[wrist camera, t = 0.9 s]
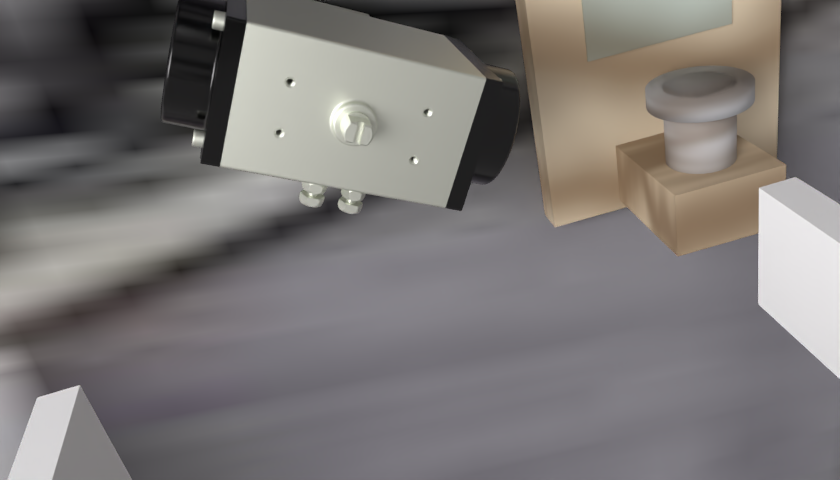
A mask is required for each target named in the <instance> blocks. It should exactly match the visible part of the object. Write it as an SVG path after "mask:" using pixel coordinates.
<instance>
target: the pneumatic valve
mask: <svg viewBox="0 0 840 480" xmlns="http://www.w3.org/2000/svg"><path fill="white" fill-rule="evenodd" d="M519 113H520V89H519V84H518V81H517V78H516V76H515V74H514V73H513V72H512V71H510V70H508V69H505V68H500V67H496V66H492V65H488V64H484V63H483V62H482V61H481V60H480V59H479V58H478V57H477V56H476V55H475V54H474V53H473V52H472V51H470V50H469V49H468V48H467V47H466V46H465V45H464V44H463V43H462V42H461V41H460V40H459V39H456V38H452V37H448V36H444V35H440V34H437V33H433V32H429V31H425V30H421V29H417V28H413V27H409V26H405V25H401V24H397V23H393V22H389V21H385V20H381V19H377V18H373V17H369V14H366V13H362V12H358V11H354V10H350V9H346V8H342V7H338V6H334V5H330V4H326V3H322V2H318V1H314V0H179V1H178V6H177V10H176V15H175V21H174V26H173V32H172V37H171V43H170V49H169V55H168V61H167V68H166V75H165V81H164V89H163V96H162V105H161V117H160V118H161V121H162V122H164V123H169V124H174V125H179V126H184V127H189V128H194V134H193V140H192V146H196V147H202V148H201V156H200V159H201V162H200V163H201V164H207V165H212V166H218V167H223V168H229V169H234V170H240V171H245V172H251V173H256V174H261V175H267V176H272V177H278V178H283V179H289V180H294V181H300V182H302V187H303V189H304V190H303V191H301V192H300V195H299V199H300V202H301V203H302V204H304V205H306V206H310V207H320V206H321V205H322V203H323V201H324V197H325V196H324V195H322V194H323V193H324V192H325V191H326V189H327V187H333V188H338V189H342V190H341V194H342V196H343V197H341V198H340V199H339V202H338V207H339V209H340V210H342V211H343V212H346V213H350V214H357V213H359V212H360V210H361V209H362V205H363V203H362V202H361V201H362V200H363V199H364V197H365V194H371V195H377V196H382V197H387V198H393V199H398V200H404V201H409V202H415V203H420V204H426V205H431V206H437V207H442V208H448V209H453V210H459V211H461V210H462V208H463V205H464V202H465V199H466V196H467V193H468V190H469V187H470V184H471V183H476V184H482V185H483V184H488V183H490V182H491V181H493V180H494V179H495V178H496V177H497V176H498V174H499V173H500V171H501V170H502V168H503V167H504V165H505V163H506V161H507V159H508V156H509V154H510V151H511V149H512V146H513V143H514V139H515V136H516V131H517V127H518V121H519Z"/></svg>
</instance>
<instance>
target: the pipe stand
mask: <svg viewBox="0 0 840 480" xmlns="http://www.w3.org/2000/svg"><path fill="white" fill-rule="evenodd" d="M515 1H516V8H517V15H518V22H519V30H520V37H521V44H522V51H523V59H524V66H525V73H526V80H527V88H528V95H529V102H530V109H531V117H532V124H533V131H534V138H535V146H536V153H537V160H538V167H539V175H540V182H541V189H542V196H543V204H544V211H545V215H546V216H547V218H548V219H549V220H550V222H551V223H552V224H553V225H554V227H558V226H562V225H565V224H569V223H572V222H576V221H579V220H583V219H586V218H590V217H594V216H597V215H601V214H604V213H608V212H611V211H615V210H618V209H622V208H626V207H628V208H629V209H630V210H631V211H632V212H633V213H634V214H635V215H636V216H637V217H638V218H639V219H640V220H641V221H642V222H643V223H644V224H645V225H646V226H647V227H648V228H649V229H650V230H651V231H652V232H653V233H654V234H655V235H656V236H657V237H658V238H659V239H660V240H661V241H663V242H664V243H665V244H666V245H667V246H668V247H669V248H670V249H671V250H672V251H673V252H674V253H675V254H676V255H677V256H681V255H685V254H688V253H692V252H695V251H699V250H702V249H706V248H709V247H713V246H716V245H719V244H723V243H726V242H730V241H733V240H737V239H740V238H744V237H747V236H751V235H754V234H758V233H759V188H760V187H763V186H766V185H770V184H773V183H777V182H780V181H784V180H786V164H784V163H783V162H781V161H780V160H778V159H777V134H778V97H779V60H780V23H781V0H515Z"/></svg>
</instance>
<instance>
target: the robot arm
mask: <svg viewBox="0 0 840 480" xmlns="http://www.w3.org/2000/svg"><path fill="white" fill-rule="evenodd" d="M758 304H759V305H760V306H761V307H762V308H763V309H764V310H765V311H766V312H767V313H768V314H770V315H771V316H772V317H773V318H774V319H775V320H776V321H777V322H778V323H779V324H780V325H782V326H783V327H784V328H785V329H786V330H787V331H788V332H789V333H790V334H791V335H792V336H794V337H795V338H796V339H797V340H798V341H799V342H800V343H801V344H802V345H803V346H804V347H806V348H807V349H808V350H809V351H810V352H811V353H812V354H813V355H814V356H815V357H816V358H818V359H819V360H820V361H821V362H822V363H823V364H824V365H825V366H826V367H827V368H829V369H830V370H831V371H832V372H833V373H834V374H835V375H836V376H837V377H838V378H839V379H840V204H838V203H837V202H835V201H834V200H832V199H830V198H829V197H827V196H826V195H824V194H822V193H821V192H819V191H818V190H816V189H814V188H813V187H811V186H810V185H808V184H806V183H805V182H803V181H802V180H800V179H798V178H797V177H794V178H790V179H787V180H784V181H780V182H777V183H773V184H770V185H766V186H763V187H760V188H759V248H758ZM8 480H132V479H131V477H130V475H129V474H128V472H127V470H126V468H125V466H124V465H123V463H122V461H121V459H120V457H119V455H118V454H117V452H116V450H115V448H114V446H113V445H112V443H111V441H110V439H109V437H108V435H107V434H106V432H105V430H104V428H103V426H102V425H101V423H100V421H99V419H98V417H97V415H96V414H95V412H94V410H93V408H92V406H91V405H90V403H89V401H88V399H87V397H86V395H85V394H84V392H83V390H82V388H81V386H80V385H79V386H75V387H72V388H69V389H65V390H62V391H58V392H55V393H51V394H48V395H44V396H41V397H38V398H37V400H36V403H35V405H34V408H33V411H32V414H31V416H30V419H29V422H28V425H27V427H26V430H25V433H24V436H23V439H22V441H21V444H20V447H19V450H18V452H17V455H16V458H15V461H14V463H13V466H12V469H11V472H10V474H9V477H8Z"/></svg>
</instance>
